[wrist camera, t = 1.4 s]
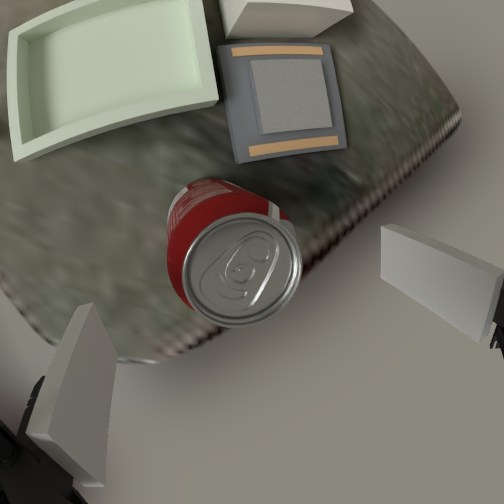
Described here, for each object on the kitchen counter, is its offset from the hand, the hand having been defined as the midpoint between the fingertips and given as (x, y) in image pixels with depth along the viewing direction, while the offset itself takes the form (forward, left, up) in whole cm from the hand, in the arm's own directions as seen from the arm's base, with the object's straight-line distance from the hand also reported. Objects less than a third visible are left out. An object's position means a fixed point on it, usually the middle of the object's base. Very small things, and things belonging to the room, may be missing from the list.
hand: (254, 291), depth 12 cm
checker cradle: (-9, +8, -13) cm, 18 cm away
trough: (-15, -6, -13) cm, 21 cm away
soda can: (0, 0, -13) cm, 13 cm away
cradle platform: (-9, +8, -12) cm, 17 cm away
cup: (-19, +8, -13) cm, 25 cm away
